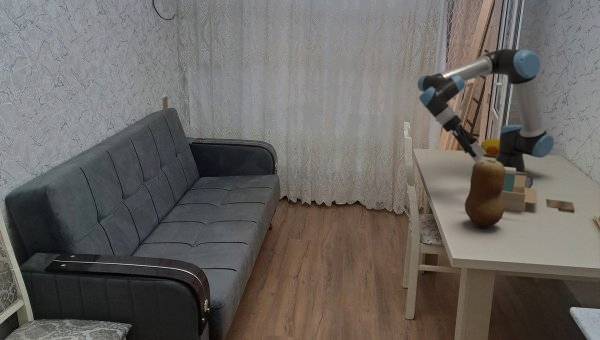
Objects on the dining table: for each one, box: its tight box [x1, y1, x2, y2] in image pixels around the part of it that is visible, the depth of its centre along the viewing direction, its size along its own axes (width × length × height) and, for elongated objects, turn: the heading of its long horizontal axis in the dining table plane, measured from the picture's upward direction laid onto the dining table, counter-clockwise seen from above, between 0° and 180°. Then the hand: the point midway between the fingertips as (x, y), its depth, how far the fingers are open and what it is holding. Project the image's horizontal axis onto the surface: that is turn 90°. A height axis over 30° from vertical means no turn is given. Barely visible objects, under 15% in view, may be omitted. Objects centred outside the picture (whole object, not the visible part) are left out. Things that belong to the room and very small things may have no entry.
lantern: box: [480, 138, 500, 158], centre depth 291 cm, size 10×10×30 cm
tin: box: [515, 171, 534, 189], centre depth 233 cm, size 15×3×8 cm, turn 71°
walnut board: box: [545, 198, 575, 214], centre depth 212 cm, size 10×10×1 cm
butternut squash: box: [464, 158, 505, 229], centre depth 188 cm, size 14×13×25 cm
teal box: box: [502, 167, 516, 192], centre depth 214 cm, size 5×5×14 cm
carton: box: [500, 175, 538, 213], centre depth 215 cm, size 23×26×9 cm
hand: (482, 158), depth 215 cm, fingers open, 13 cm apart
